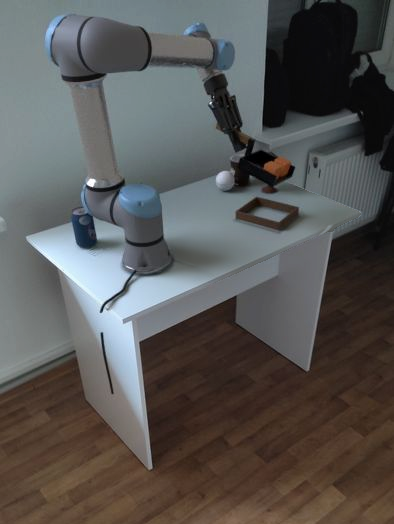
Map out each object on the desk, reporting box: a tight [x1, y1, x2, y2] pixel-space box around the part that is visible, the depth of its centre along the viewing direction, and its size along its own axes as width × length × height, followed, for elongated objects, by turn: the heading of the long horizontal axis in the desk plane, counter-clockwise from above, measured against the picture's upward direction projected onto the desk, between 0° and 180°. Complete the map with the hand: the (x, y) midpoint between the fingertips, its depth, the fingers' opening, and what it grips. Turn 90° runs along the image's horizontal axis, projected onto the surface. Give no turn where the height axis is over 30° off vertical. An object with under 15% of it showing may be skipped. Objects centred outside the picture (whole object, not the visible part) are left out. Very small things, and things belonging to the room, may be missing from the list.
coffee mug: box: [229, 153, 251, 188], centre depth 200 cm, size 12×9×10 cm
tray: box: [235, 196, 300, 232], centre depth 177 cm, size 17×14×4 cm
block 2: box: [274, 156, 292, 177], centre depth 165 cm, size 4×4×4 cm
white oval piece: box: [215, 170, 235, 192], centre depth 195 cm, size 10×7×7 cm
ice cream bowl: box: [261, 151, 280, 194], centre depth 191 cm, size 11×11×15 cm
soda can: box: [70, 206, 98, 250], centre depth 164 cm, size 7×7×12 cm
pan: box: [215, 121, 296, 187], centre depth 166 cm, size 29×13×8 cm, turn 53°
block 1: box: [264, 161, 282, 179], centre depth 161 cm, size 4×4×4 cm
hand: (241, 150), depth 167 cm, fingers closed on pan, 2 cm apart
